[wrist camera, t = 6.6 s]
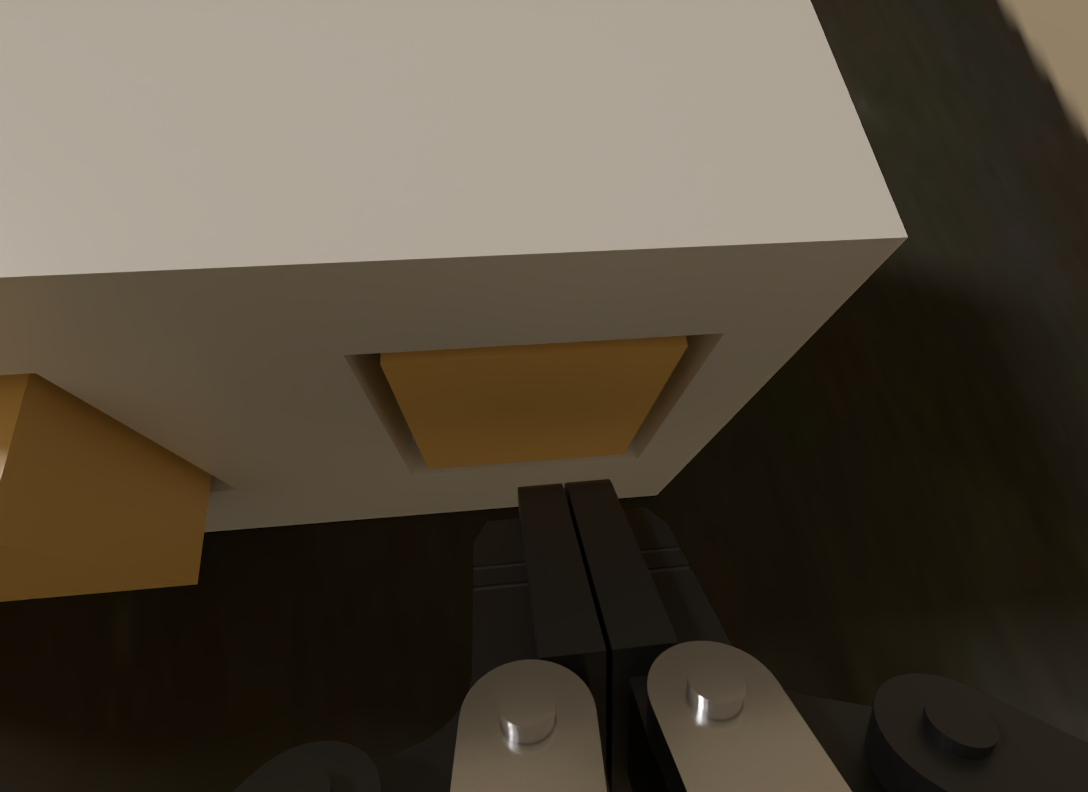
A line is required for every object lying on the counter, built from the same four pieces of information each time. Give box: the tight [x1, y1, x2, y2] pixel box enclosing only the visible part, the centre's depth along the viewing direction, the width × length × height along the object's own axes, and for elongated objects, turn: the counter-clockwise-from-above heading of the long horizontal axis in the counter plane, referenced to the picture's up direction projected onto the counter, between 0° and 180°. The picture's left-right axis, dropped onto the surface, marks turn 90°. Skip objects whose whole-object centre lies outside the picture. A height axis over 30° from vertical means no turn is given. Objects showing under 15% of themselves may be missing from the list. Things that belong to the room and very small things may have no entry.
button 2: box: [380, 336, 688, 469], centre depth 11 cm, size 4×3×5 cm
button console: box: [0, 0, 908, 532], centre depth 13 cm, size 26×11×12 cm, turn 95°
